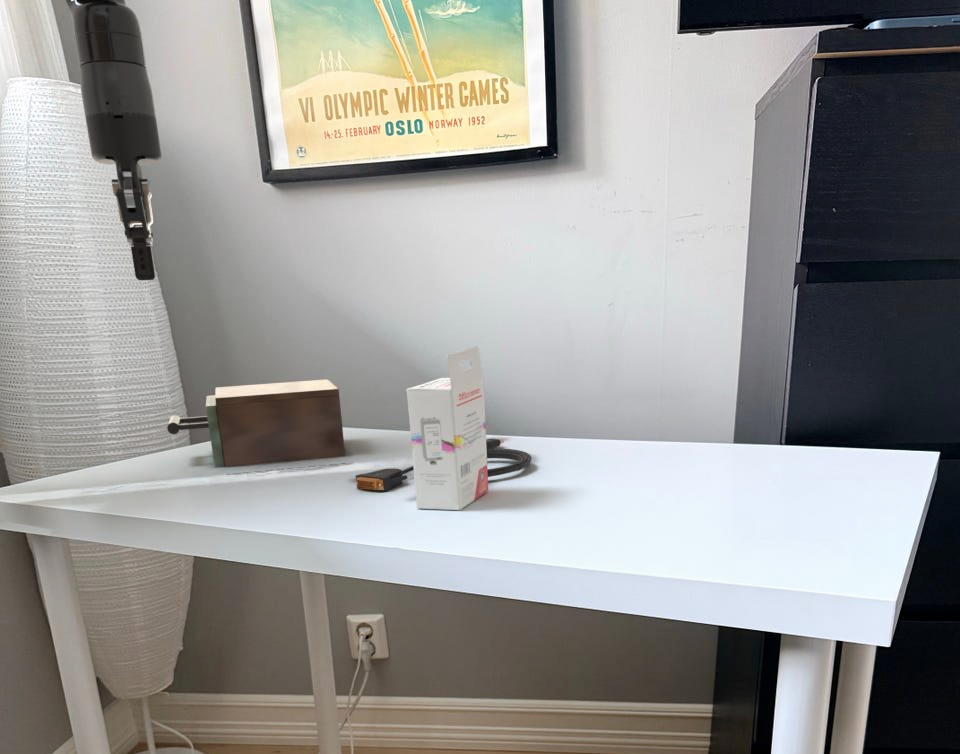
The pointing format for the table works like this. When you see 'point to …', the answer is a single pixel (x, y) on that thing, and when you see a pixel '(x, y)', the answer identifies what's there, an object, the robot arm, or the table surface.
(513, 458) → the cable
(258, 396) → the cabinet
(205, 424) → the drawer
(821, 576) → the table surface
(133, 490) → the table surface
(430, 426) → the ink cartridge box
